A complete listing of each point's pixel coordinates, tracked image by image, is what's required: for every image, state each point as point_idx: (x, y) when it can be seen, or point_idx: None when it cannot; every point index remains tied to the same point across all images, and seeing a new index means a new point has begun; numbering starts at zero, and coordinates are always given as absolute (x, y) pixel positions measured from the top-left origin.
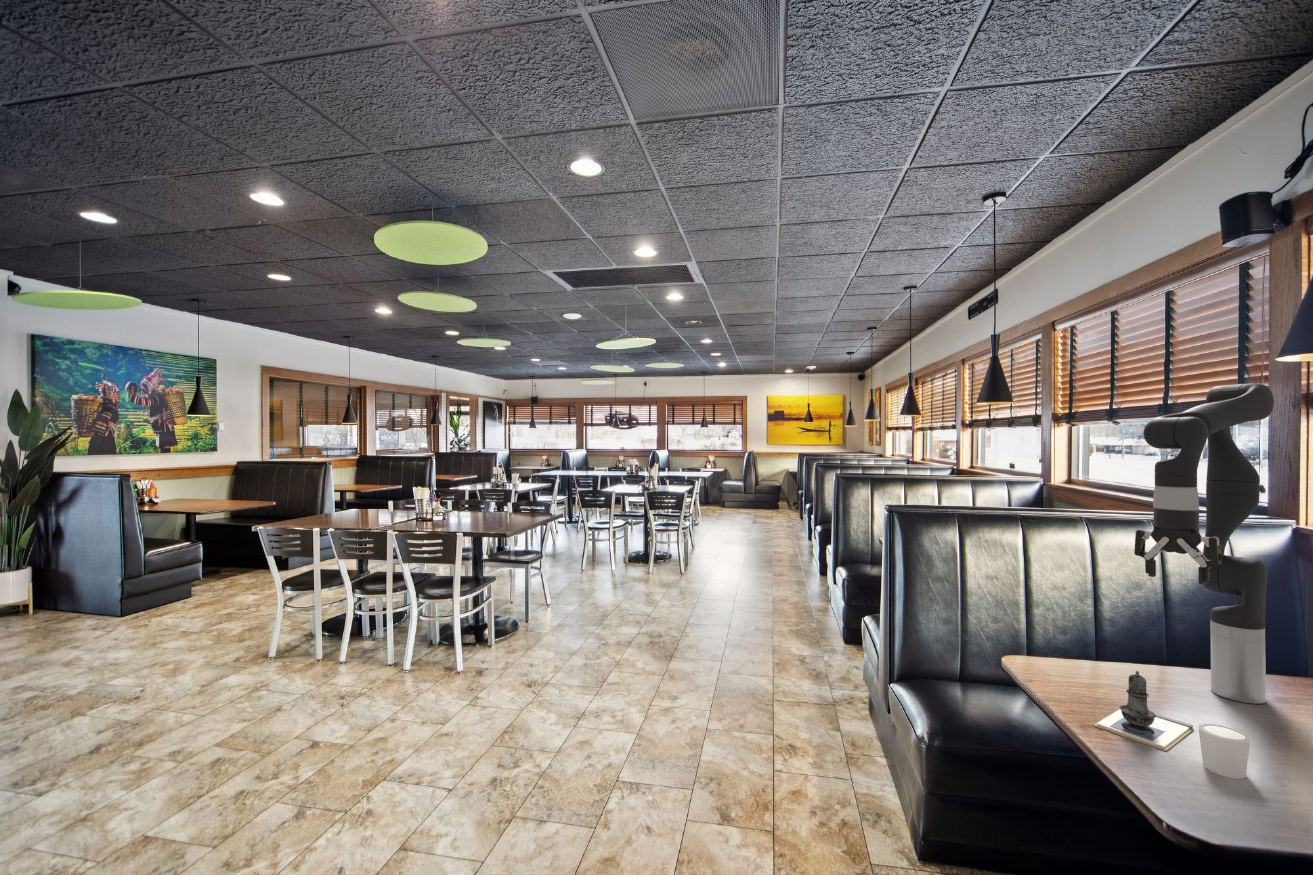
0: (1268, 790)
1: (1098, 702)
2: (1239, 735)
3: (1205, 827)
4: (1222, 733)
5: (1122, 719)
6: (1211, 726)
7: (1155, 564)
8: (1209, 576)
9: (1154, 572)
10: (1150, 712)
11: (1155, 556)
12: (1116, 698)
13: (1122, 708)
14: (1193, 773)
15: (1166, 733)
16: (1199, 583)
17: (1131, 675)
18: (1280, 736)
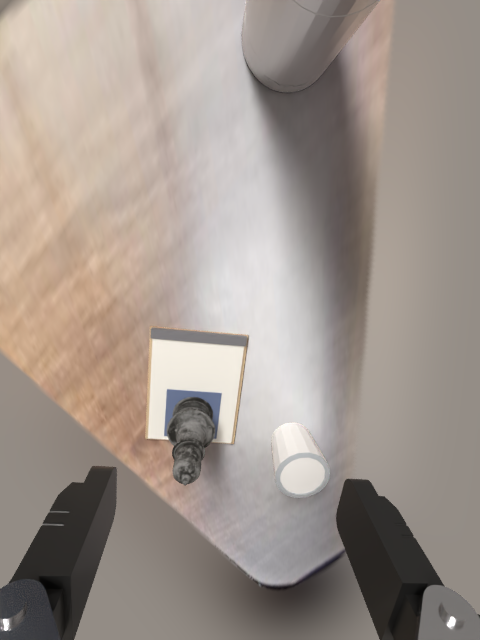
0: (329, 454)
1: (113, 335)
2: (319, 470)
3: (286, 566)
4: (301, 480)
5: (168, 398)
6: (288, 466)
7: (87, 538)
8: (406, 533)
9: (108, 503)
10: (207, 431)
11: (53, 617)
12: (126, 287)
13: (172, 441)
14: (265, 475)
15: (224, 397)
16: (339, 522)
17: (177, 479)
18: (347, 249)
